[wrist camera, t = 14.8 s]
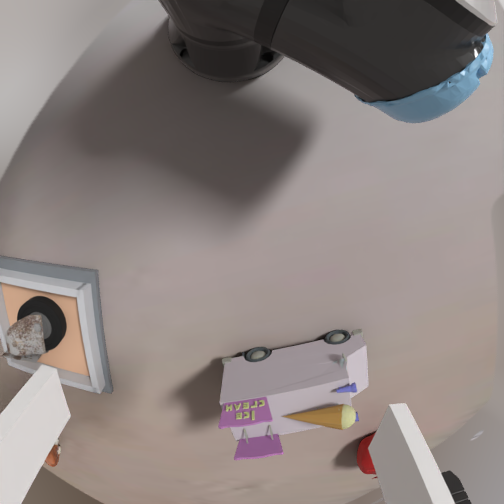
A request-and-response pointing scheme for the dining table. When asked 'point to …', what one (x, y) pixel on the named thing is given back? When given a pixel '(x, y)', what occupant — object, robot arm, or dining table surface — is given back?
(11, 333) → the caster wheel
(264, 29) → the robot arm
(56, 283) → the tray
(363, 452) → the pomegranate
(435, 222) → the dining table surface
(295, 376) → the toy vehicle
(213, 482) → the dining table surface
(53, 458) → the bull figurine
